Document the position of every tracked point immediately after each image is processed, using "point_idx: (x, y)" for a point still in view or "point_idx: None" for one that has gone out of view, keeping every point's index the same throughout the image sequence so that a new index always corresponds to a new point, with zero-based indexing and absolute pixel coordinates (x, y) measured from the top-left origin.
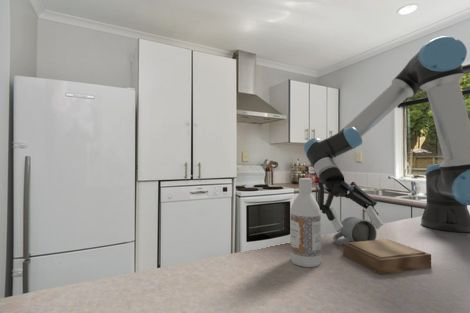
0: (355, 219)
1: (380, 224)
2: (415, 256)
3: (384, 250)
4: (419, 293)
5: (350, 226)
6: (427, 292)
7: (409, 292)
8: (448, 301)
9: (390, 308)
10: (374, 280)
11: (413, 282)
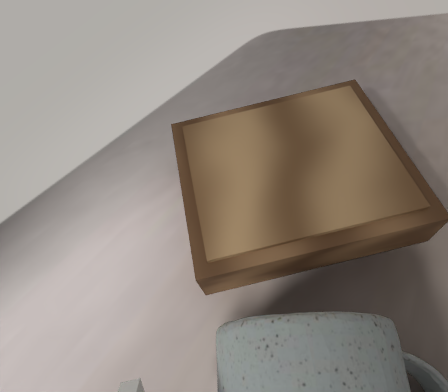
0: (355, 390)
1: (141, 389)
2: (230, 110)
3: (307, 131)
4: (305, 55)
5: (398, 347)
6: (287, 59)
7: (322, 56)
8: (272, 42)
9: (384, 19)
10: (375, 86)
11: (287, 86)
